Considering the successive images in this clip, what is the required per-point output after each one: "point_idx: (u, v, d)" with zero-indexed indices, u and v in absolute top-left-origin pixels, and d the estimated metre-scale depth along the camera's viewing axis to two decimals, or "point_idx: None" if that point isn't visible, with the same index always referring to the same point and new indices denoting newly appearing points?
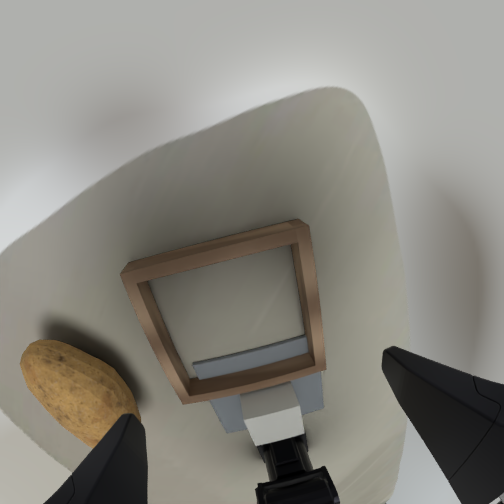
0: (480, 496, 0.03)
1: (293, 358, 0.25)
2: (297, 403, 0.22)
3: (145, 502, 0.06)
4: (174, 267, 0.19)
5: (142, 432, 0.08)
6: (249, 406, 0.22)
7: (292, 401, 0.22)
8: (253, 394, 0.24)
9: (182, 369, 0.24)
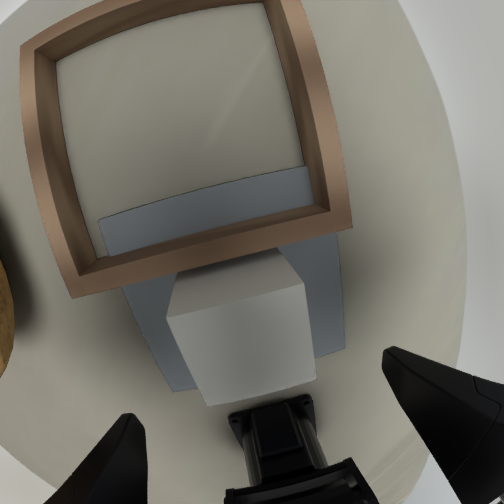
0: (480, 496, 0.03)
1: (285, 211, 0.14)
2: (298, 280, 0.10)
3: (145, 502, 0.06)
4: (87, 15, 0.07)
5: (142, 432, 0.08)
6: (187, 295, 0.11)
7: (285, 278, 0.10)
8: (201, 277, 0.12)
9: (80, 227, 0.12)
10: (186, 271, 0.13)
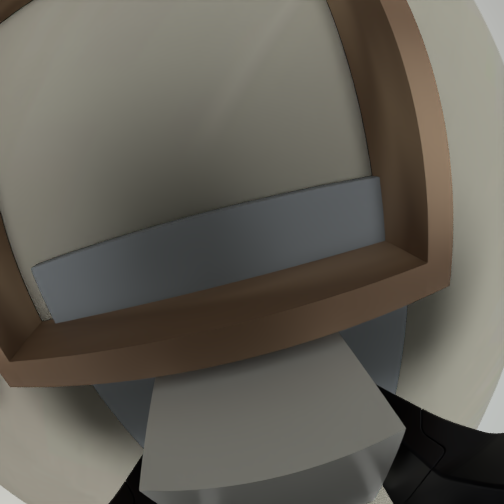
0: None
1: (343, 256, 0.08)
2: (393, 420, 0.04)
3: None
4: None
5: None
6: (175, 435, 0.05)
7: (368, 413, 0.04)
8: (199, 385, 0.06)
9: (8, 278, 0.06)
10: None
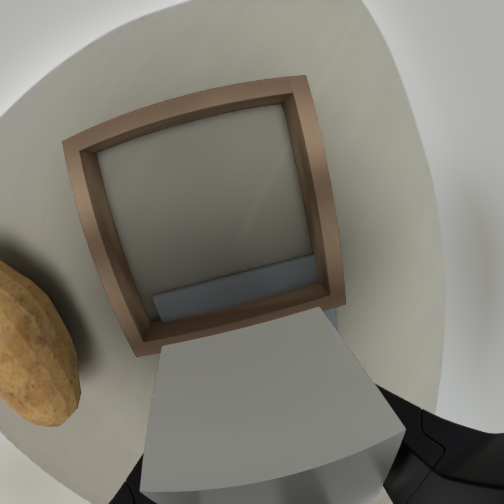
0: None
1: (297, 290, 0.18)
2: (393, 421, 0.04)
3: None
4: (127, 123, 0.12)
5: None
6: (176, 436, 0.05)
7: (368, 414, 0.04)
8: (199, 387, 0.06)
9: (137, 302, 0.17)
10: (173, 361, 0.07)
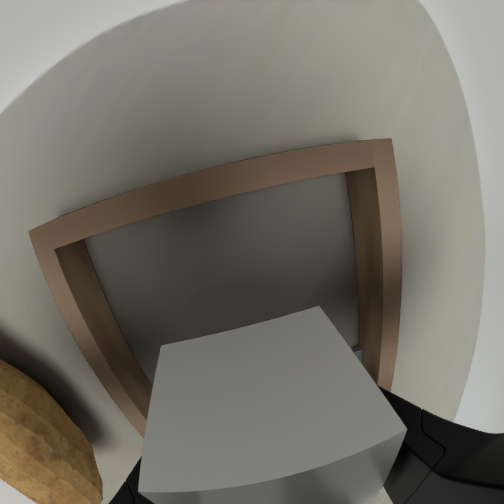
0: None
1: None
2: (394, 421, 0.04)
3: None
4: (121, 212, 0.08)
5: None
6: (174, 436, 0.05)
7: (369, 414, 0.04)
8: (199, 386, 0.06)
9: None
10: (172, 360, 0.07)
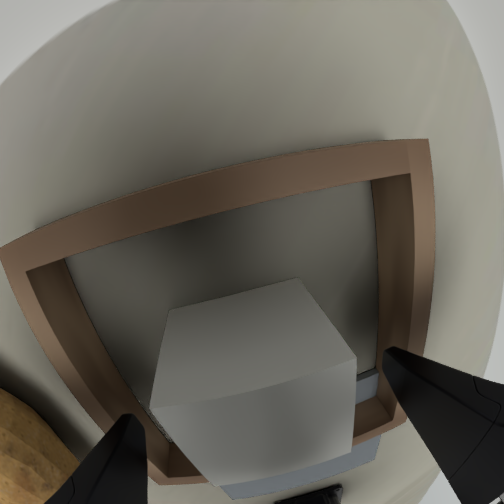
0: (480, 497, 0.03)
1: None
2: (346, 351, 0.06)
3: (145, 502, 0.06)
4: (99, 228, 0.06)
5: (142, 432, 0.08)
6: (179, 367, 0.07)
7: (327, 347, 0.06)
8: (200, 333, 0.08)
9: (153, 434, 0.11)
10: (179, 318, 0.09)
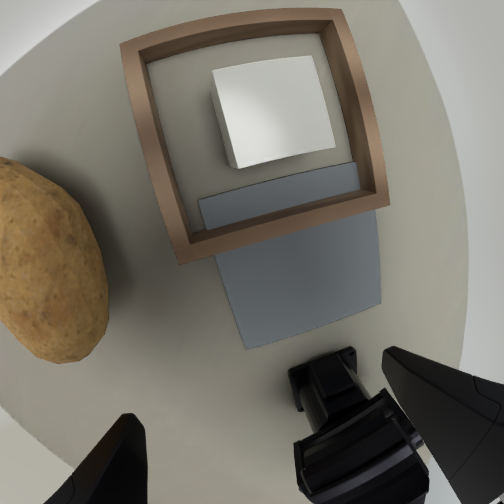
0: (480, 496, 0.03)
1: (342, 194, 0.18)
2: None
3: (145, 502, 0.06)
4: (190, 28, 0.12)
5: (142, 432, 0.08)
6: None
7: None
8: None
9: (182, 206, 0.17)
10: None
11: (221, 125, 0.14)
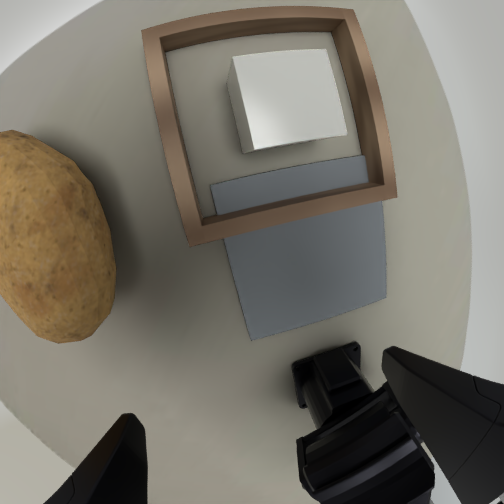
0: (480, 497, 0.03)
1: (351, 186, 0.18)
2: None
3: (145, 502, 0.06)
4: (210, 20, 0.12)
5: (142, 432, 0.08)
6: None
7: None
8: None
9: (194, 189, 0.17)
10: None
11: (237, 112, 0.15)
